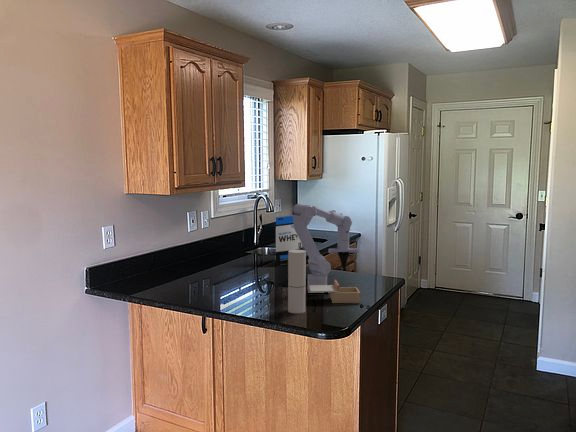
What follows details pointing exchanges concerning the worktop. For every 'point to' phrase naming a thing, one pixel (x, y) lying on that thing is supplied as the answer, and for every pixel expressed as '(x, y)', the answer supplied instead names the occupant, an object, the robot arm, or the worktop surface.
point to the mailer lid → (325, 287)
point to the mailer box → (346, 295)
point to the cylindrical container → (296, 281)
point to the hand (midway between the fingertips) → (343, 267)
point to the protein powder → (285, 239)
